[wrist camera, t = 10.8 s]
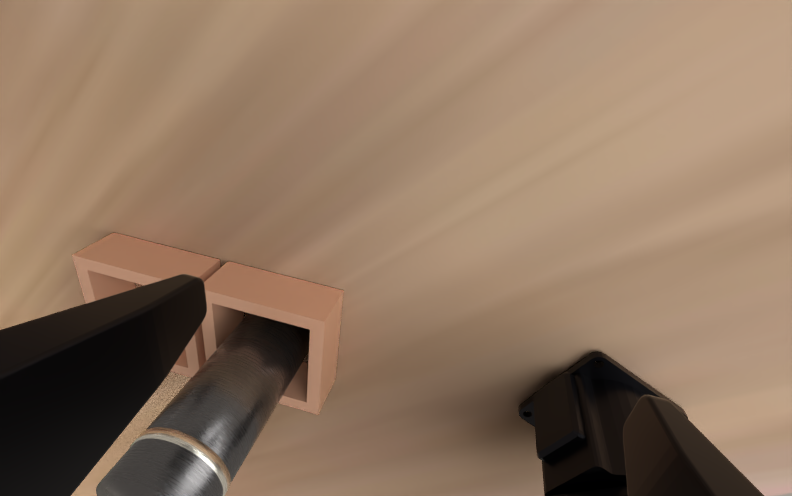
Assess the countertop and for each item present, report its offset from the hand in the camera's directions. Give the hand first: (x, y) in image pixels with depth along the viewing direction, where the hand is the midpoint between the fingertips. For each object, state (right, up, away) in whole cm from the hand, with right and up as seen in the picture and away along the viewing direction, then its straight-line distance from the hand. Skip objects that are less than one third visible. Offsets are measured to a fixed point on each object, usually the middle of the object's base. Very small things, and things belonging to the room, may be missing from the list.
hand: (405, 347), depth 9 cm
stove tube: (-7, -3, +18) cm, 20 cm away
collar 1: (-15, -1, +20) cm, 25 cm away
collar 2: (-7, -3, +19) cm, 20 cm away
